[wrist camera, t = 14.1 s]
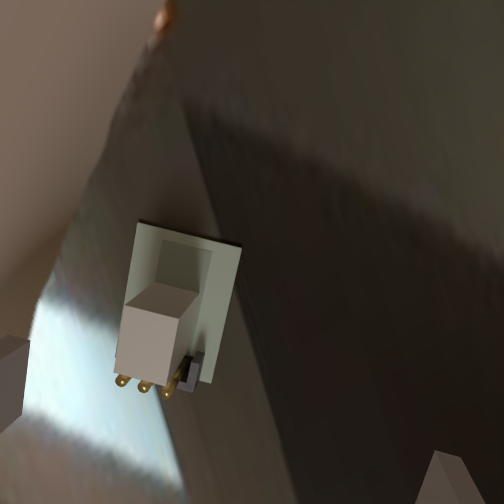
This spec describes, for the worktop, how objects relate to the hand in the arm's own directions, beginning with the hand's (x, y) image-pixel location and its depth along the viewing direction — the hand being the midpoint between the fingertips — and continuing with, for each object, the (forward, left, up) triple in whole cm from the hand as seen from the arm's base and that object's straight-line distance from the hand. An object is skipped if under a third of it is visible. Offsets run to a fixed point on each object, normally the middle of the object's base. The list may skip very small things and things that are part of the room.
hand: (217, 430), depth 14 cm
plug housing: (+8, -8, -26) cm, 29 cm away
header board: (+7, -8, -27) cm, 29 cm away
